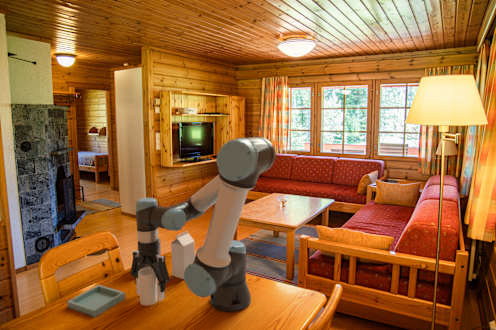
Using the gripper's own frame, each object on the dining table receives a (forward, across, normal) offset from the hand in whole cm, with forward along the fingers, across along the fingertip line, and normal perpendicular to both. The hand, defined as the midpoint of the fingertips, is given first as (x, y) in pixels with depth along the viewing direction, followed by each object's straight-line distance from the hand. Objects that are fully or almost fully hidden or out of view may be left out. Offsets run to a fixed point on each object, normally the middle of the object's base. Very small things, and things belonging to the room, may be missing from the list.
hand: (150, 296), depth 132 cm
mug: (+1, 0, 0) cm, 1 cm away
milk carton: (+1, +1, -22) cm, 22 cm away
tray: (+1, +16, +11) cm, 19 cm away
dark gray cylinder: (+1, +18, -20) cm, 27 cm away
